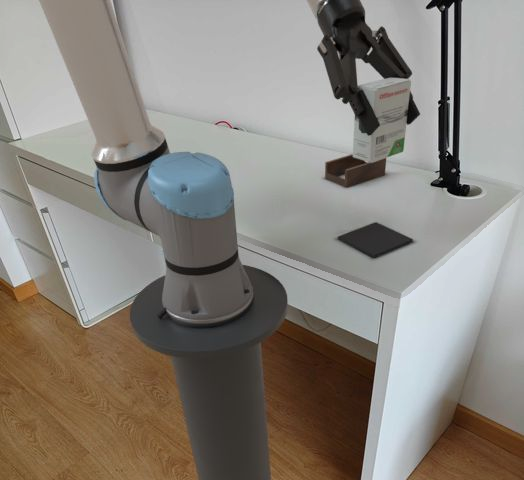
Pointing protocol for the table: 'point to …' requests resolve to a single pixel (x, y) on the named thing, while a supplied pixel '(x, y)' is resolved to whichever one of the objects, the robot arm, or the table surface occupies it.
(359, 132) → the ink box
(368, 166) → the holder
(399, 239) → the mat
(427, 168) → the table surface
